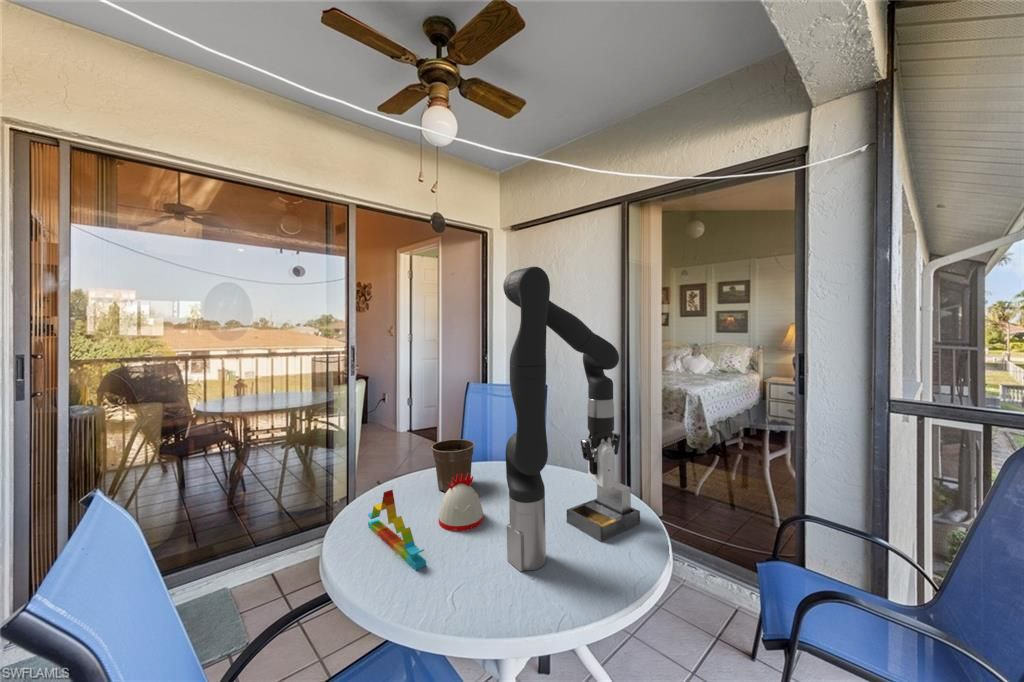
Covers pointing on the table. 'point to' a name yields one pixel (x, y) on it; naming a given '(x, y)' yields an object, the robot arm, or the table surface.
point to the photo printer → (604, 466)
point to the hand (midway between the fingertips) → (601, 471)
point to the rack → (605, 513)
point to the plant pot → (452, 460)
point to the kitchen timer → (460, 506)
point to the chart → (401, 547)
